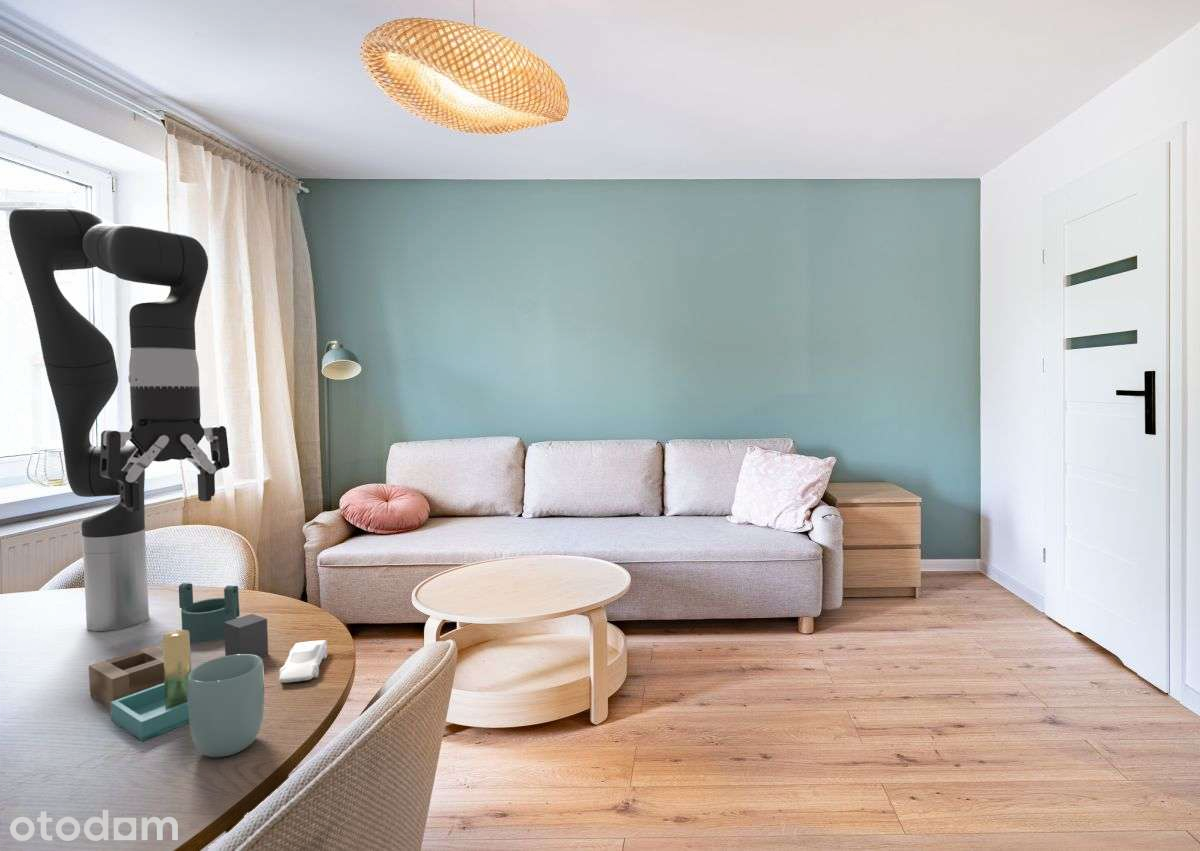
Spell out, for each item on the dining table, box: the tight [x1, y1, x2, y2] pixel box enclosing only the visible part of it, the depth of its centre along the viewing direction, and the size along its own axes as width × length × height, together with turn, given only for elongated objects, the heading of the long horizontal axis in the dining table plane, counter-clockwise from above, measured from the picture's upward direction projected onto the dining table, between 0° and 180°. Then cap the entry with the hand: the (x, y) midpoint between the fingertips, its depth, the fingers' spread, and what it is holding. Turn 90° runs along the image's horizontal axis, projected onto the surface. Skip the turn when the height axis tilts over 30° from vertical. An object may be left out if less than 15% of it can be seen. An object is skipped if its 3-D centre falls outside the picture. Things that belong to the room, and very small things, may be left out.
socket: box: [88, 644, 164, 710], centre depth 88 cm, size 8×8×4 cm
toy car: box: [278, 639, 328, 684], centre depth 96 cm, size 6×12×3 cm, turn 15°
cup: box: [187, 654, 265, 758], centre depth 74 cm, size 8×8×10 cm
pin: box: [161, 629, 192, 710], centre depth 83 cm, size 3×3×10 cm
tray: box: [110, 683, 189, 742], centre depth 83 cm, size 9×12×2 cm
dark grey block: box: [224, 613, 269, 658], centre depth 100 cm, size 4×4×6 cm
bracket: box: [178, 582, 241, 644], centre depth 110 cm, size 9×9×9 cm
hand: (170, 505), depth 82 cm, fingers open, 8 cm apart
